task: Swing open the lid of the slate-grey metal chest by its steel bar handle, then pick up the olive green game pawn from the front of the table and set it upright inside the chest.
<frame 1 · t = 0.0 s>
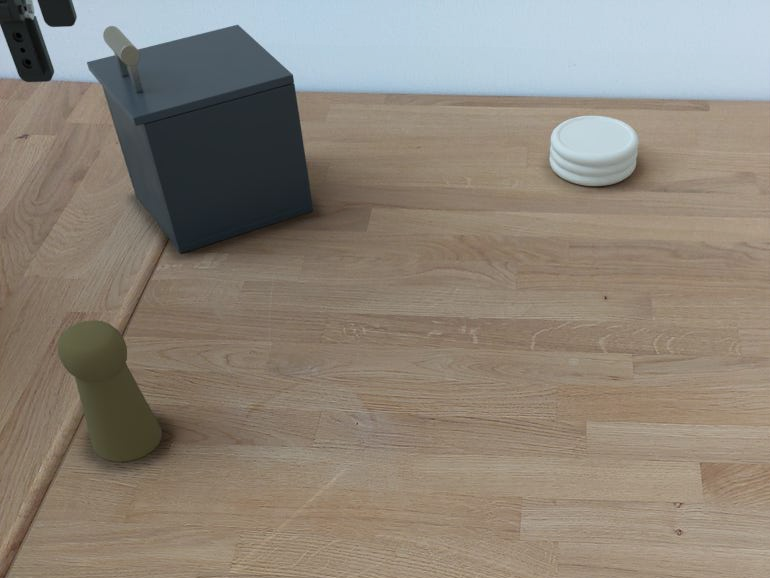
hand: (51, 51, 68), 28 cm above the table, tool pointing down, fingers open, 8 cm apart
chest: (223, 203, 107), on the table
coaster: (592, 167, 112), on the table
lid: (184, 49, 94), point 16 cm above the table, hinge at 0.0°
olive green game pawn: (128, 439, 85), on the table
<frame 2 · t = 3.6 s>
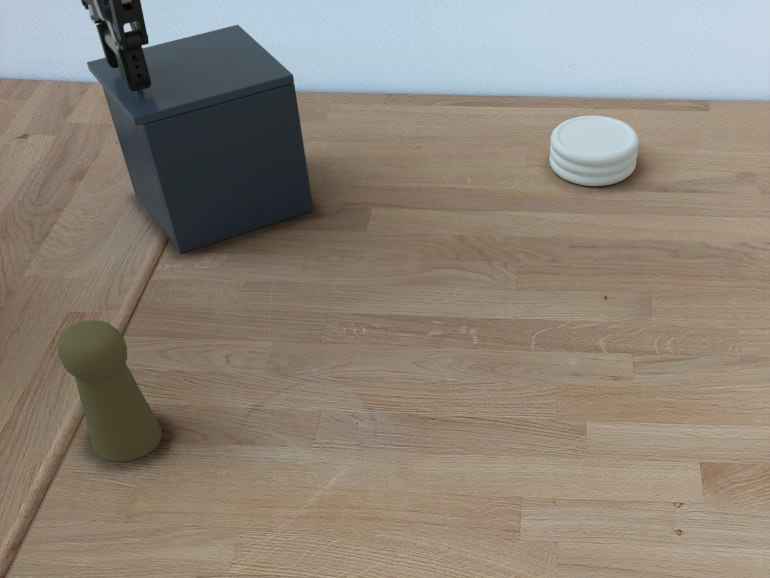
hand: (129, 75, 93), 15 cm above the table, tool pointing down, fingers closed on lid, 5 cm apart
lid: (184, 49, 94), point 16 cm above the table, hinge at 0.0°, touching gripper
everything else where it was.
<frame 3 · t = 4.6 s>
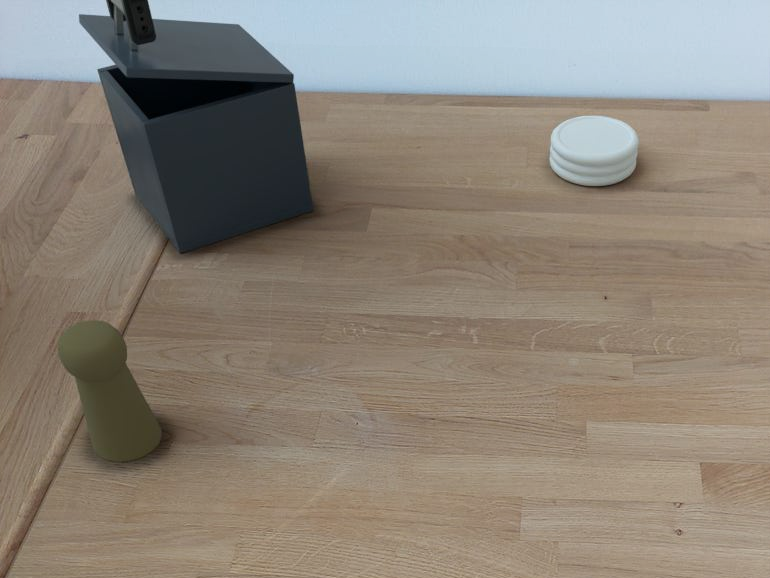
hand: (133, 29, 91), 19 cm above the table, tool pointing down, fingers open, 5 cm apart
lid: (187, 24, 93), point 18 cm above the table, hinge at 14.9°
everything else where it was.
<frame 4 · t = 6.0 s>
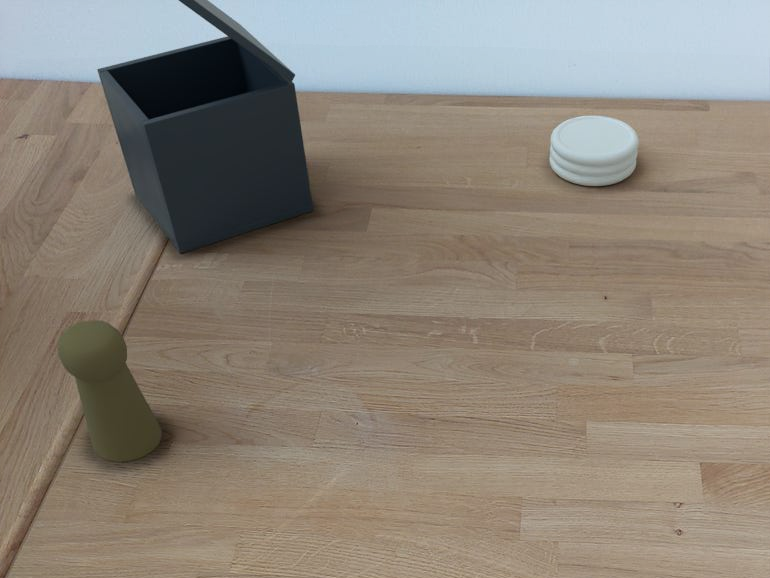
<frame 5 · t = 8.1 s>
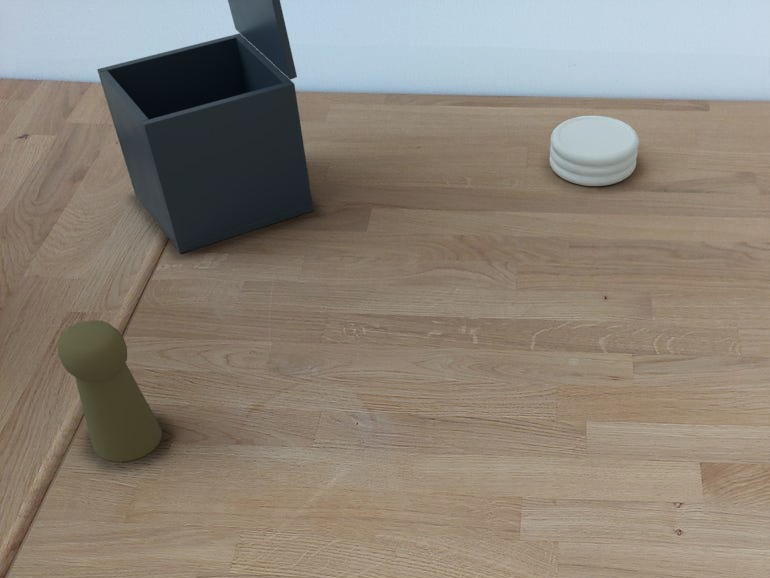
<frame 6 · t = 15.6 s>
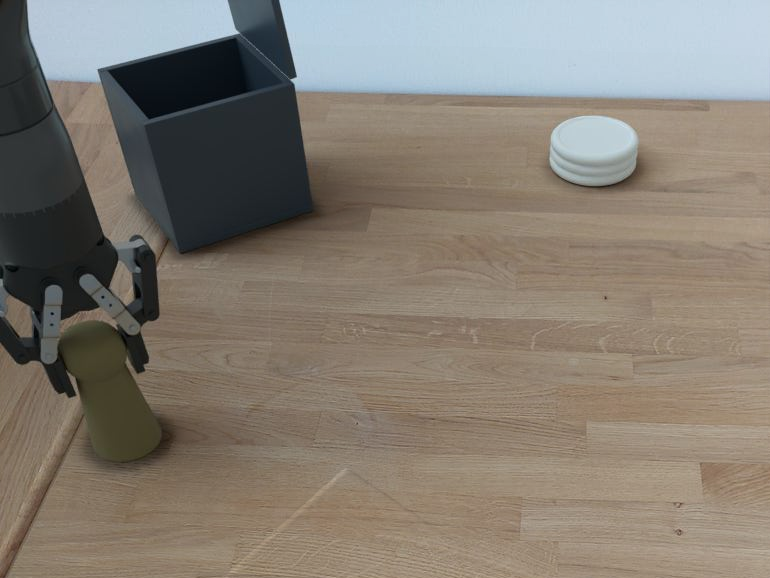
hand: (104, 378, 79), 6 cm above the table, tool pointing down, fingers closed on olive green game pawn, 5 cm apart
olive green game pawn: (128, 439, 85), on the table, touching gripper
when the fingers open (9 cm above the table, at t = 33.7 s): olive green game pawn drops 1 cm, resting on chest.
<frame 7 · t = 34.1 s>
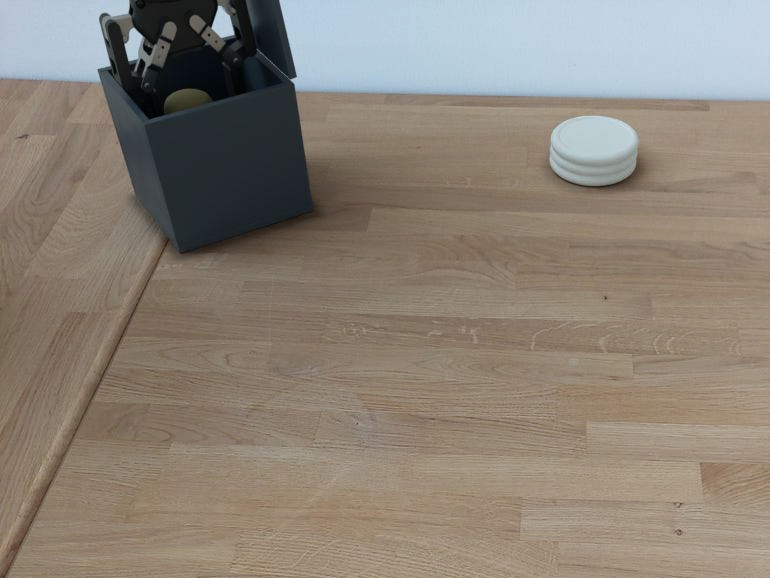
hand: (199, 114, 99), 10 cm above the table, tool pointing down, fingers open, 8 cm apart
olive green game pawn: (211, 200, 106), point 1 cm above the table, touching chest
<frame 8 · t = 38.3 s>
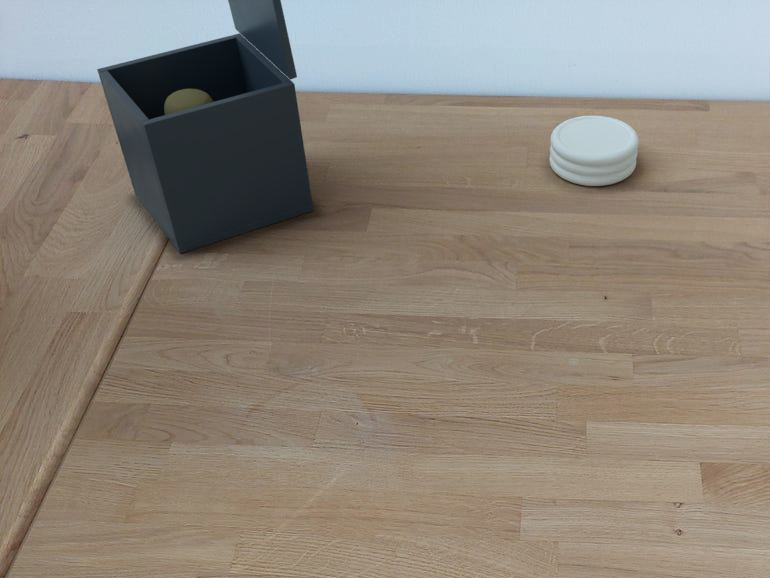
at the end: lid at +86° (first picture: +0°); olive green game pawn inside the target area in the chest (1.2 cm from its centre), point 0.6 cm above the chest's base; olive green game pawn tilted 0° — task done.
